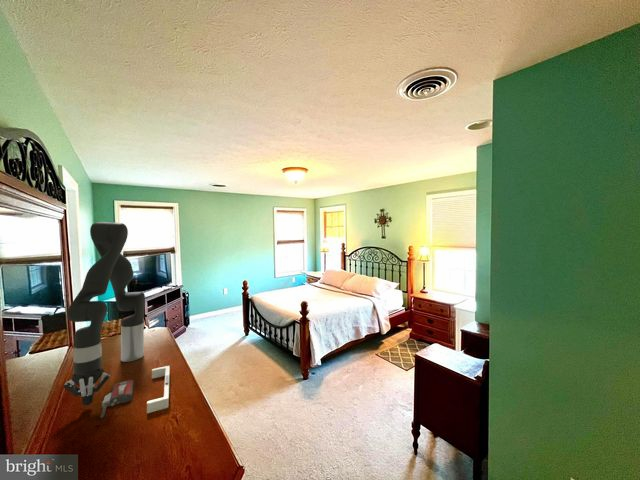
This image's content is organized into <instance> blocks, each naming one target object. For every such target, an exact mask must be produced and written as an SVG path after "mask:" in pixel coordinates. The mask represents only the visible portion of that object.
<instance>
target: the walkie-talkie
mask: <svg viewBox="0 0 640 480" xmlns="http://www.w3.org/2000/svg"><path fill="white" fill-rule="evenodd" d="M134 386H135V381H134V380H133V379H127V380H124V381H119V382H116V383H115V384H114V385H113V387H112V390H111V392H109V393H108V394H106V395H105V396H104V397H103V401H102V402H101V408H102V410H101V413H100V416H99V418H100V419H104V418H105V415H106V411H107V408H108V407H113V406H116V405H119V404H125V403H127V402H130V401H132V400H133V394H134Z"/></svg>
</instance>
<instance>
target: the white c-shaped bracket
mask: <svg viewBox="0 0 640 480" xmlns="http://www.w3.org/2000/svg"><path fill="white" fill-rule="evenodd" d="M170 368H171V367H170V365H165V366H161V367H156V368H152V369H151V371H152V372H151V379H157V378H162V377H164V385H163V386H164V387H163V390H164V391H163V397H159V398H155V399H151V400H148V401H147V402H146V414H150V413H154V412H156V411H161V410H165V409H168V408H169V405H170V404H169V398H170V397H169V396H170V375H171V374H170Z"/></svg>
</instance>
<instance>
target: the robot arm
mask: <svg viewBox="0 0 640 480" xmlns="http://www.w3.org/2000/svg"><path fill="white" fill-rule="evenodd" d="M89 235H90V238H91V241H92V244H93V245H94V247H95V249H96V250H97V252H98V254H99V255H100V258H99V259H98V260H97V261H96V262H95V263H94V264H92V266H90V268H89V269H88V270H87V273H86V275H85V277H84V282H83V284H82V287H81V289H80V291H79V292H78V294H77V295H76V296H75V298H74V299H73V301H72V302H71V303H70V305H69V307H68V309H67V314H66V315H67V318H68V320H69V321H70V322H72V323H83V322H84V323H85V322H90V324H89V325H88V326H84V327H81V328H78V329H76V330H75V332H74V338H73V339H74V342H73V343H74V347H73V348H74V349H73V355H72V356H73V357H72V360H73V365H72V366H73V367H72V371H73V373H72V376H71V378H70V380H67V381H66V382H65V383H64V384H63V386H62V388H63V389H64V390H66V391H67V392H69V393H70V394H72V395H73V396H75V397H80V396H81V401H82V402H81V405H83V406H84V407H87V406H88V407H89V406H90V405H91V404H92V403H93V402H94V399H95V395H94V394H95V393H97V392H99V391H100V390H101V389H102V387H103V386H104V385H105V384H106V383H107V381H108V380H109V378H111V377H110V376H111V373H110V372H108V373H106V372H104V369H103V367H102V366H103V356H102V355H103V348H102V347H103V346H102V330H103V325H104V321H105V319H106V316H107V315H108V314H107V313H108V306H107V305H108V304H106V302H104V301H103V300H92V299H94V298H95V297H99V296H103V295H105V294H106V293H107V290H108V287H109V284H110V285H111V288H112V290H113V293H114V299H115V302H116V307H117V309H118V310H119V311H120V312H132V311H133V312H134V314H132V315H129V316H125V317H124V318H122V319H121V321H120V361H121V362H123V363H124V362H125V363H126V362H127V363H129V362H133V361H134V362H135V361H137V360H139V359H142V358H143V357H144V354H145V353H144V350H145V349H144V343H145V342H144V341H145V340H144V339H145V337H144V336H145V335H144V332H145V328H144V327H145V326H144V325H145V321H144V320H145V306H146V305H145V303H146V295H145V293H144V292H143V291H133V292H132V291H131V292H128V291H126V288H127V286H128V285H129V284H130V282H131V281H132V280H133V277H134V274H135V273H134V269H133V266H132V263H131V261H130V260H129V259H128V258H127V257H126V256H124V255H123V254H121V253H122V250H123V249H124V246H125V245H126V242H127V238H128V236H129V230H128V226H127V225H126V224H125V223H122V222H110V221H108V222H107V221H98V222H97V221H95V222H93V223H92V224H91V226H90V229H89ZM99 380H100V382H98V381H99ZM97 382H98V384H97V385H96V383H97ZM95 385H96V386H95Z"/></svg>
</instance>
